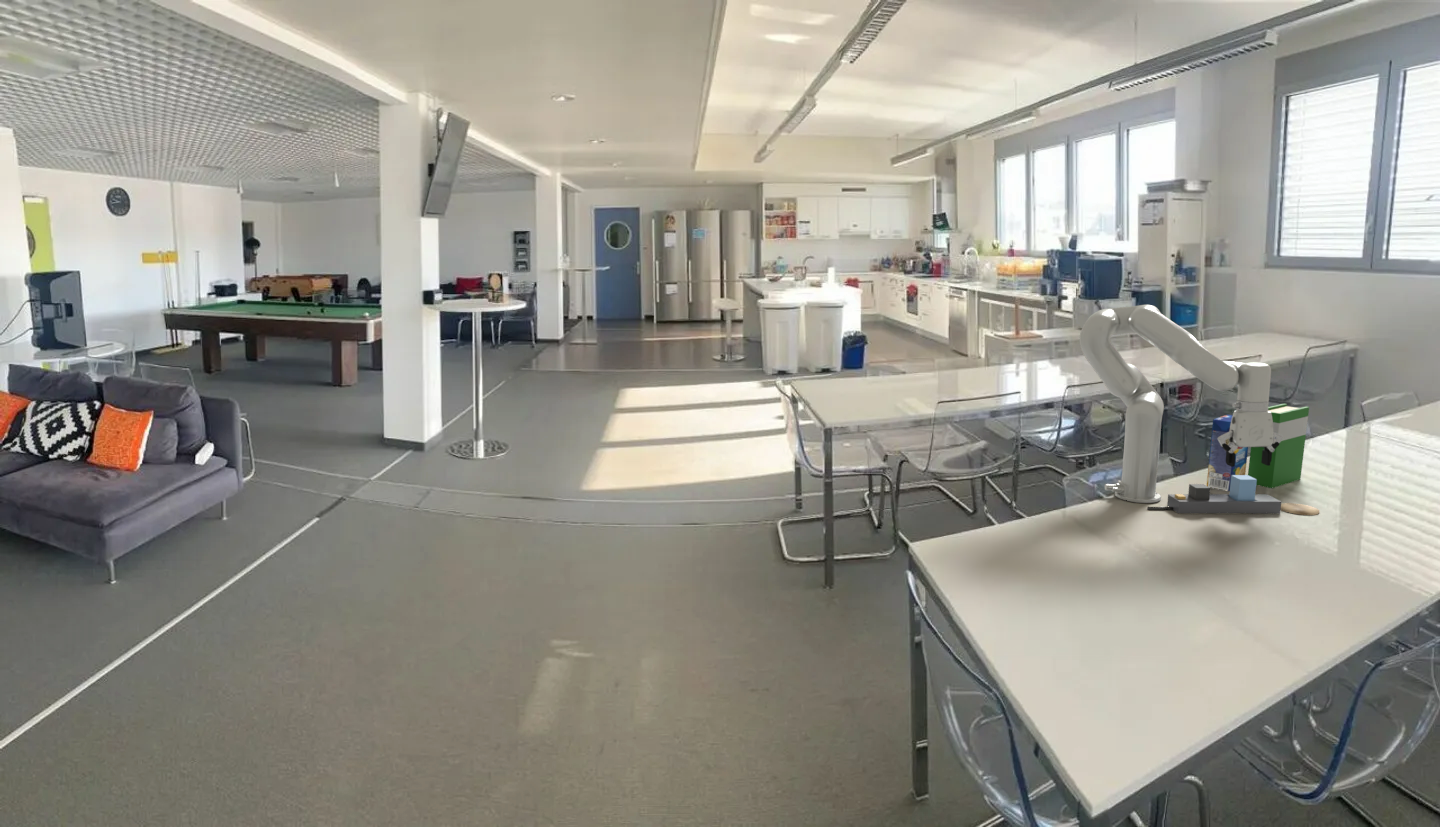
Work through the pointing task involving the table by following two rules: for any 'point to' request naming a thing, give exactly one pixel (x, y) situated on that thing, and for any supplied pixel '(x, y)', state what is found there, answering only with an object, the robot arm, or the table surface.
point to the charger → (1242, 488)
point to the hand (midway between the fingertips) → (1248, 465)
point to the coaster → (1299, 509)
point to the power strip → (1218, 502)
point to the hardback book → (1282, 448)
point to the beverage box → (1223, 457)
